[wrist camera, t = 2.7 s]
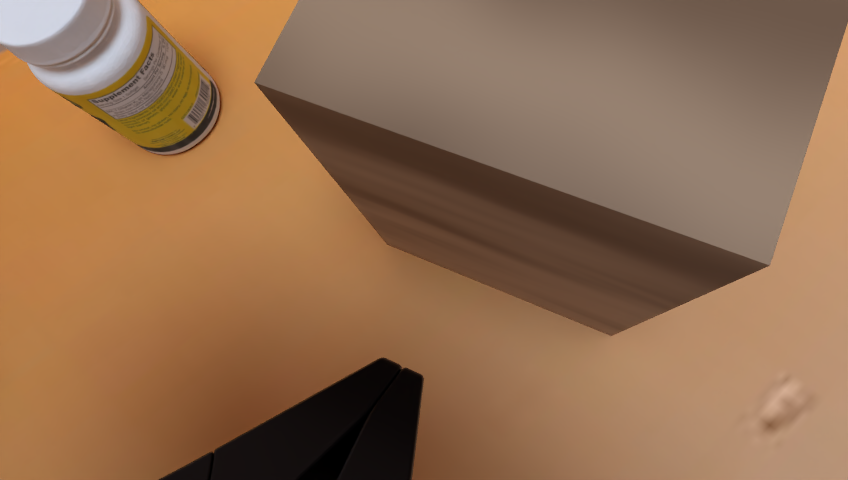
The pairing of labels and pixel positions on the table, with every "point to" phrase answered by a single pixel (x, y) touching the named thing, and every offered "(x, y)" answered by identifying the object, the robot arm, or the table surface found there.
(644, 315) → the walnut block
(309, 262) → the table surface
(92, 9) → the supplement bottle
